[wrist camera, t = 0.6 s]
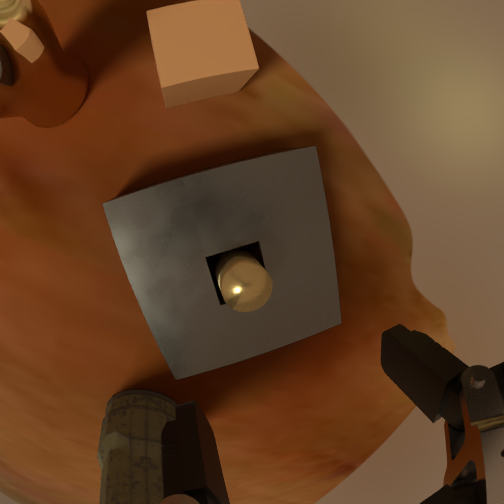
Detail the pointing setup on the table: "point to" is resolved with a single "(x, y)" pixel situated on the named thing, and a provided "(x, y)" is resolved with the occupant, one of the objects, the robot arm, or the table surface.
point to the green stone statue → (133, 447)
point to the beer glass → (37, 68)
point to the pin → (242, 280)
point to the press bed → (223, 239)
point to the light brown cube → (201, 49)
